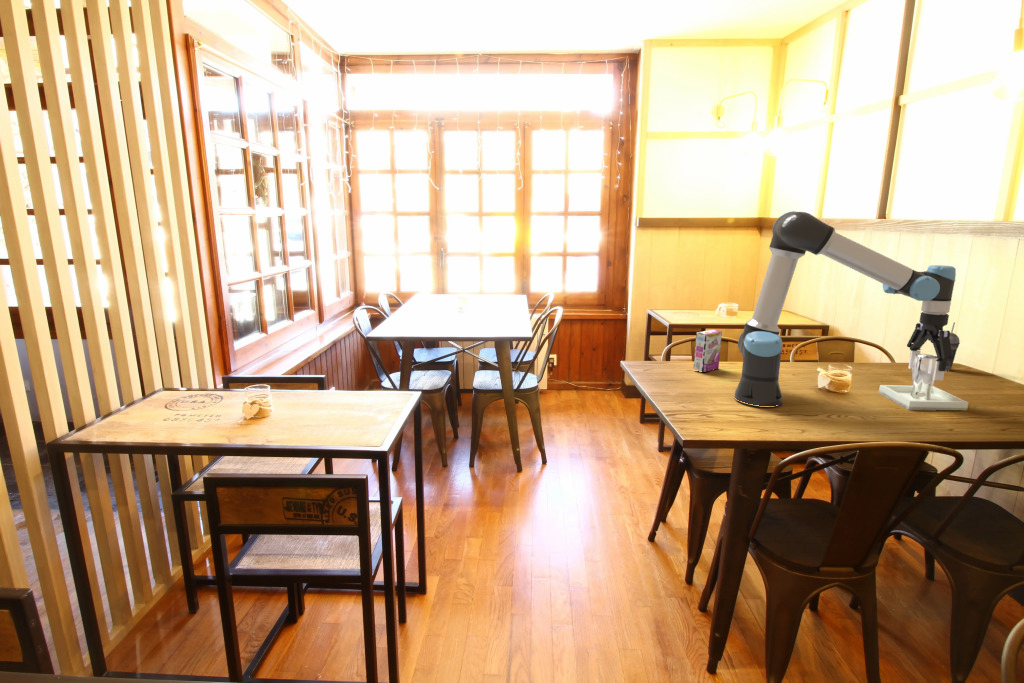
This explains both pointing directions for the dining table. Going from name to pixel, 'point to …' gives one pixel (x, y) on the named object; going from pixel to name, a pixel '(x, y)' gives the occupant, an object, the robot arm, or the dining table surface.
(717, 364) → the candy bar box
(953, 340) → the beverage cup
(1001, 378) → the dining table surface
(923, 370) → the beer glass
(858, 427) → the dining table surface
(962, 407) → the tray
